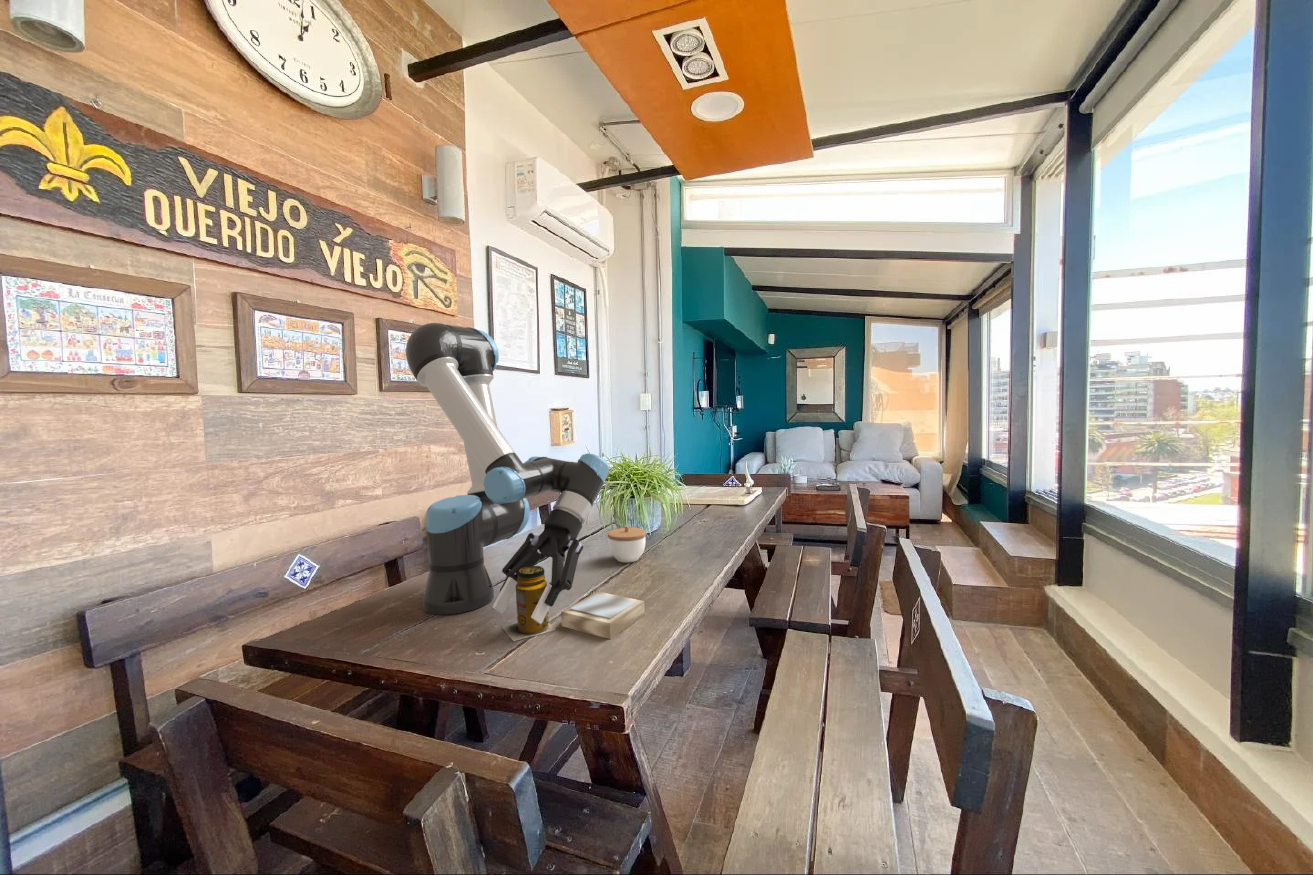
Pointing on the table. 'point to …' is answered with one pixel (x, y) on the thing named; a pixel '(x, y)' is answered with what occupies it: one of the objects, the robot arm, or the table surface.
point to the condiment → (528, 604)
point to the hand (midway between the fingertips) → (516, 615)
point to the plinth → (603, 614)
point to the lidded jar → (627, 543)
